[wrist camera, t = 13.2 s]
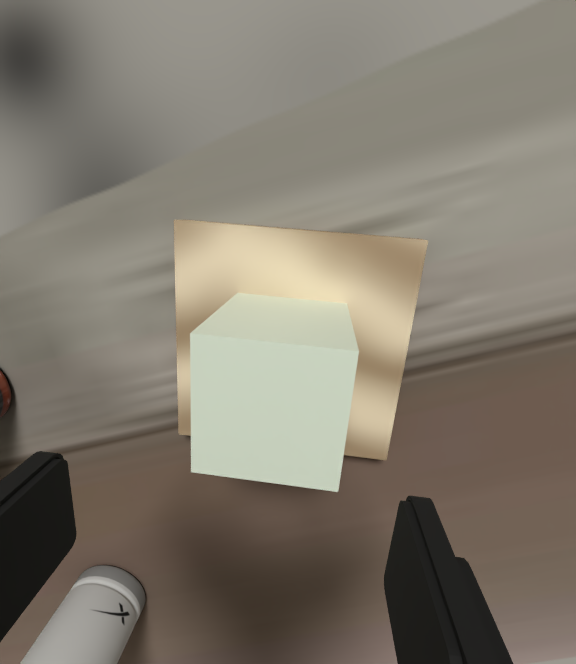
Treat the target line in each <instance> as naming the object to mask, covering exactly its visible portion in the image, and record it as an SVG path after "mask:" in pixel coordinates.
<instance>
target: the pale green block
mask: <svg viewBox="0 0 576 664" xmlns="http://www.w3.org/2000/svg"><path fill="white" fill-rule="evenodd" d="M358 355H359V349H358V345H357V341H356V337H355V333H354V329H353V325H352V321H351V317H350V313H349V309H348V305H347V303H337V302H327V301H317V300H307V299H296V298H286V297H276V296H266V295H256V294H245V293H237V294H236V295H234V296H233V297H232V298H231V299H230V300H229V301H227V302H226V303H225V304H224V305H223V306H221V307H220V308H219V309H218V310H217V311H216V312H214V313H213V314H212V315H211V316H210V317H209V318H207V319H206V320H205V321H204V322H203V323H202V324H200V325H199V326H198V327H197V328H196V329H195V330H193V331H192V332H191V333H190V386H191V472H194V473H201V474H209V475H216V476H224V477H231V478H238V479H246V480H253V481H261V482H268V483H275V484H283V485H290V486H298V487H305V488H312V489H320V490H327V491H335V492H338V490H339V483H340V476H341V469H342V463H343V456H344V449H345V442H346V436H347V429H348V422H349V415H350V409H351V402H352V395H353V388H354V382H355V375H356V368H357V362H358Z"/></svg>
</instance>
